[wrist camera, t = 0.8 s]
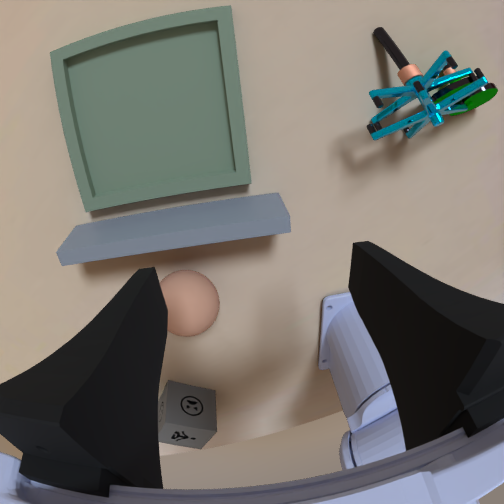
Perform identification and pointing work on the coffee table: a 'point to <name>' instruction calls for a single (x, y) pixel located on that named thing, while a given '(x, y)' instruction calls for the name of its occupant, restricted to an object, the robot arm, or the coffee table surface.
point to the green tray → (153, 108)
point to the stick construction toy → (417, 86)
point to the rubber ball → (189, 302)
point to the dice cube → (186, 415)
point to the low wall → (176, 228)
